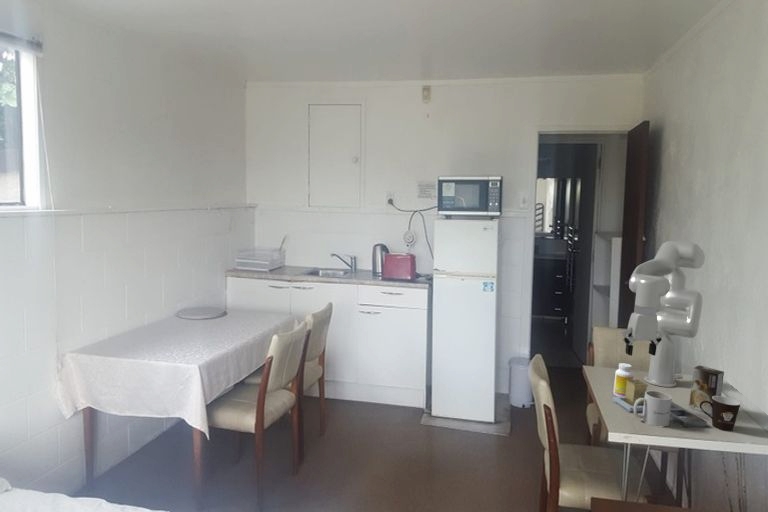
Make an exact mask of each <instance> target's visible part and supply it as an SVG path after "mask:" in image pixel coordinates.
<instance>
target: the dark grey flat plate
mask: <svg viewBox="0 0 768 512" xmlns="http://www.w3.org/2000/svg"><path fill="white" fill-rule="evenodd" d="M680 416H683V417H680ZM669 420H671V421H672V420H673V421H672V422H674V423H676V424H677V425H679V426H680V425H681V427H682V426H683V427H682V428H707V424H708V421H707V420H705V419H703V418H702V417H700V416H698V415H697V414H694V413H692V412H690V411H689V410H687V409H685V408H684V407H682V406H680V405H679V404H677V403H675V402H673V401H671V409H670V417H669Z"/></svg>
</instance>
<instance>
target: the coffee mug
mask: <svg viewBox="0 0 768 512" xmlns="http://www.w3.org/2000/svg"><path fill="white" fill-rule="evenodd" d="M705 402H707V403H709V404H710V405H711V407H712V415H711V414H708V413H706V412H705V411H704V410H703V409H702V407H701V405H702V404H703V403H705ZM700 408H701V410H702V411H703V412H702V411H701V412H702V413H704V414H705V415H706V416H708V417H709V418H710V419H711V424H712V425H711V426H712V427H713V428H715V429H717V430H720V431H724V432H733V430H734V429H735V425H736V422H737V417H738V414H739V412H740V411H739V410H740V408H741V402H740V401H739V400H737V399H735V398H732V397H728V396H724V395H721V396H713V397H712V403H711V402H709V401H702V402H701V403H700Z"/></svg>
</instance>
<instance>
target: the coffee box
mask: <svg viewBox="0 0 768 512" xmlns="http://www.w3.org/2000/svg"><path fill="white" fill-rule="evenodd" d="M724 374H725V371H723V370H718V369H716V368H710V367H707V366H704V365H696V366H695V367H693V369H692V377H691V378H692V379H691V387H690V394H689V395H690V396H689V403H688V408H690V409H692V410H695V411H699V412H701V413H704V412H703V411H702V410H701V408H700V403H701V402H702V401H709V402H711V403H712V397H713V396H722V392H723V391H722V389H723V383H724V382H723V381H724ZM701 407H702V409H703V410H704V411H705V412H706V413H708V414H709V415H710V416H712V407H711V405H710V404H709V403H707V402H705V403H703V404H702V405H701Z"/></svg>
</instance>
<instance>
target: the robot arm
mask: <svg viewBox="0 0 768 512" xmlns="http://www.w3.org/2000/svg"><path fill="white" fill-rule="evenodd" d="M705 259H706V255H705V252H704V250H703V249H702V247H701V246H699V245H698V244H696V243H695V242H687V241H674V240H667V241H666V242H663V243H662V244H661V246H659V249H658V251H657V252H656V254H655V257H654V258H652V259H650V260H648V261H645V262H643V263H641V264H639V265H637V266H636V267H635V269H634V270H633V272H632V274H631V275H630V278H629V280H628V281H629V282H628V287H629V289H630V291H631V292H632V293H635V302H634V307H633V308H634V311H633V312H632V313H631V314H630V317H629V320H628V324H627V329H626V330H624V331H622V332H620V336H621V337H622V340H623V342H624V343H625V354H626V355H628V356H633V351H634V345H633V344H634V343H635V342H637V341H639V342H641V341H644V342H647V341H649V342H650V343H649V347H648V354H649V355H650V357H649V358H650V359H649V368H648V374H646V375H645V376H644V377H643V379H644V381H645V382H646V383H648V384H651V385H654V386H658V387H666V388H672V387H675V386H677V382H676V381H675V380H683V377H684V376H683V375H682V374H676V373H674V372H675V363H676V356H677V355H676V354H677V343H676V340H675V339H674V336H678V337H682V338H688V339H693V338H695V337H696V336H697V334H698V331H699V326H700V319H701V314H702V307H703V295H702V293H700V291H698V290H694V289H686V288H685V286H686V280H687V277H686V274H685V273H684V271H683V269H682V268H687V269H696V270H699V269H701V268H702V267H703V265H704V263H705V261H706V260H705ZM659 297H660V299H659ZM658 301H659V302H660V305H661V306H662V307H663V308H665V309H668V310H669V309H670V310H675V311H681V312H685V313H687V314H683V313H677V312H673V311H672V312H671V311H665V310H664V311H663V310H662V311H661V310H660V309H659V307H658Z"/></svg>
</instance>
